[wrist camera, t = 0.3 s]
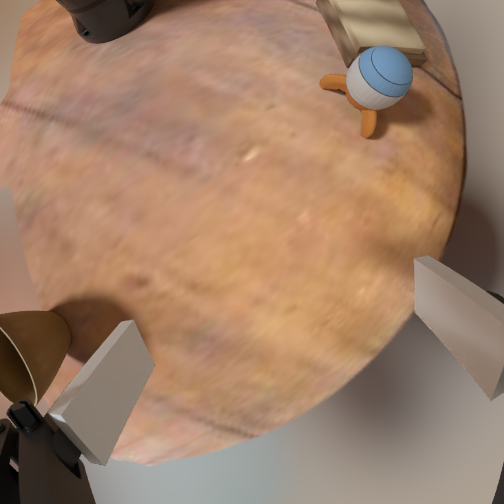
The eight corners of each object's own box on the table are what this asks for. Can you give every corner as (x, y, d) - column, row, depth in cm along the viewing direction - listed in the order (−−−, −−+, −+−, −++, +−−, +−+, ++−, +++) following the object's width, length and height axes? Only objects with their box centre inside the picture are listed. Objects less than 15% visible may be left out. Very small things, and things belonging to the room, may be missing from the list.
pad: (315, 3, 31) (321, -15, 26) (386, 5, 30) (396, -9, 25) (346, 67, 33) (356, 52, 28) (418, 66, 32) (433, 55, 27)
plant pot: (99, 367, 41) (52, 419, 26) (45, 361, 42) (-1, 400, 26) (74, 287, 39) (9, 320, 23) (22, 291, 40) (-36, 317, 24)
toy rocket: (374, 75, 34) (438, 52, 20) (381, 139, 38) (451, 139, 23) (313, 68, 33) (366, 30, 19) (321, 138, 36) (381, 131, 22)
